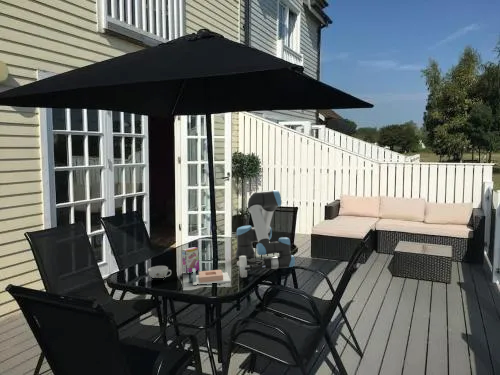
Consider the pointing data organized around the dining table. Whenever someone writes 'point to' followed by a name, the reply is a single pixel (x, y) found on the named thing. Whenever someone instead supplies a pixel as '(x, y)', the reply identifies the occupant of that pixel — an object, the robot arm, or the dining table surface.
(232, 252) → the dining table surface
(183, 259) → the candy bar box
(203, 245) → the dining table surface
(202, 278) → the charging dock
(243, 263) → the peg
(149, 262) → the dining table surface
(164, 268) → the teacup
